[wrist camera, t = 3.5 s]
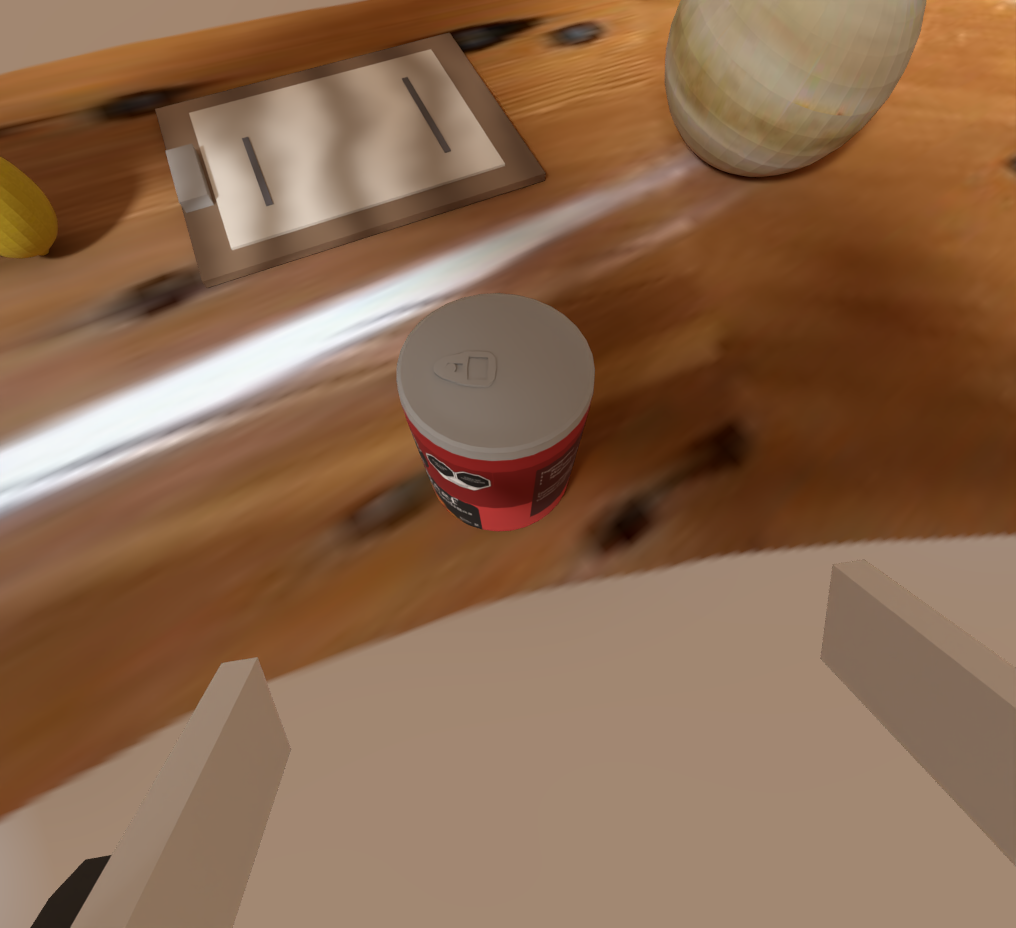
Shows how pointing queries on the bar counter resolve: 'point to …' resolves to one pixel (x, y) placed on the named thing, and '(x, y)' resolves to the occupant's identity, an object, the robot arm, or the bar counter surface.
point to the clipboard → (337, 155)
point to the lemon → (24, 215)
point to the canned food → (497, 405)
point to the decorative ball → (783, 76)
